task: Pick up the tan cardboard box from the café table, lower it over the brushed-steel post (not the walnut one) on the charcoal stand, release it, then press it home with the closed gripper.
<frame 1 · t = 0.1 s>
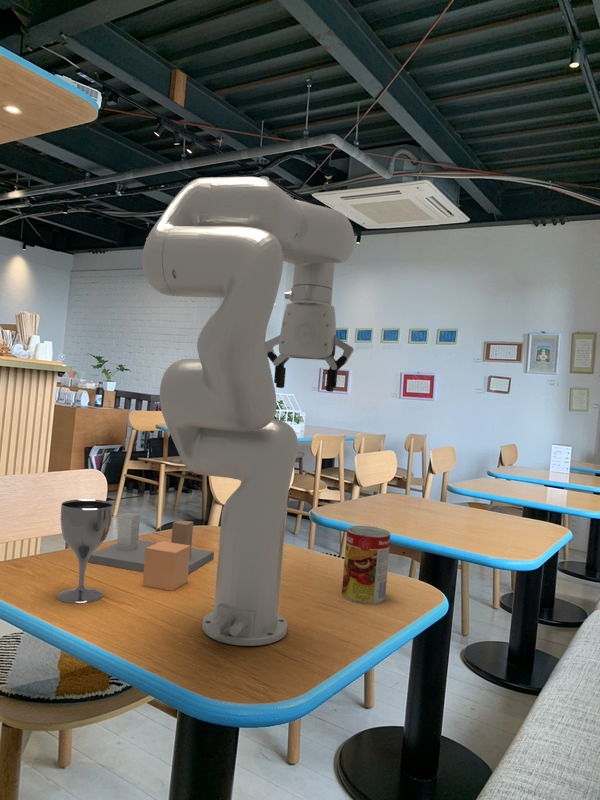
hand: (304, 389, 110), 37 cm above the table, tool pointing down, fingers open, 9 cm apart
steel post: (126, 556, 120), resting on post stand
wine glass: (80, 596, 96), on the table
canned food: (363, 597, 107), on the table
post stand: (152, 560, 118), on the table
tan cardboard box: (165, 583, 105), on the table
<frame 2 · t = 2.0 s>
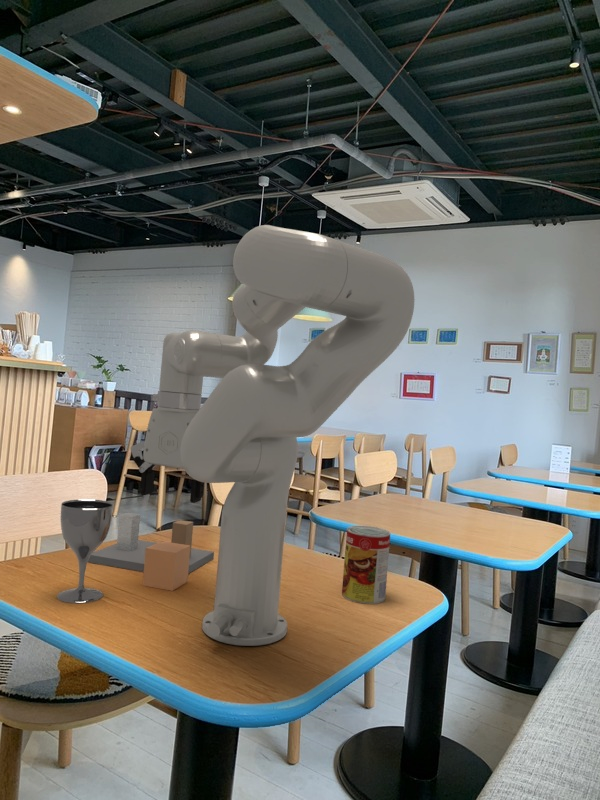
hand: (171, 497, 105), 15 cm above the table, tool pointing down, fingers open, 9 cm apart
nothing on the table moved.
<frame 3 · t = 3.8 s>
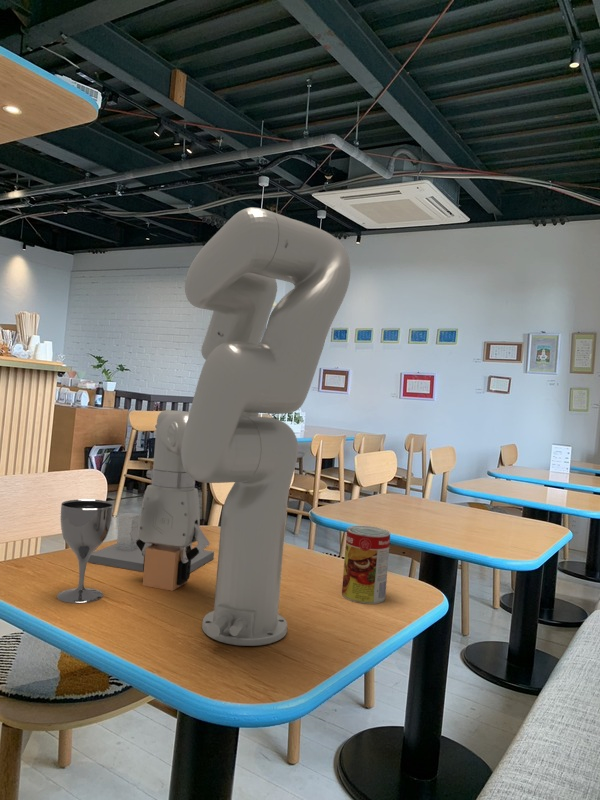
hand: (165, 579, 105), 1 cm above the table, tool pointing down, fingers closed on tan cardboard box, 5 cm apart
tan cardboard box: (165, 583, 105), on the table, touching gripper
everything else where it was.
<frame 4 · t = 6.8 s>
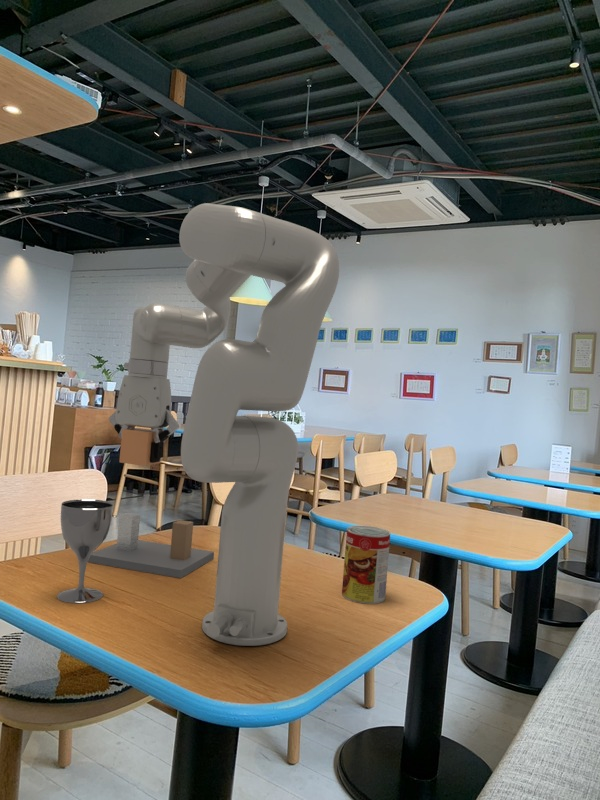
hand: (140, 459, 117), 20 cm above the table, tool pointing down, fingers closed on tan cardboard box, 5 cm apart
tan cardboard box: (140, 462, 117), point 20 cm above the table, touching gripper
everything else where it was.
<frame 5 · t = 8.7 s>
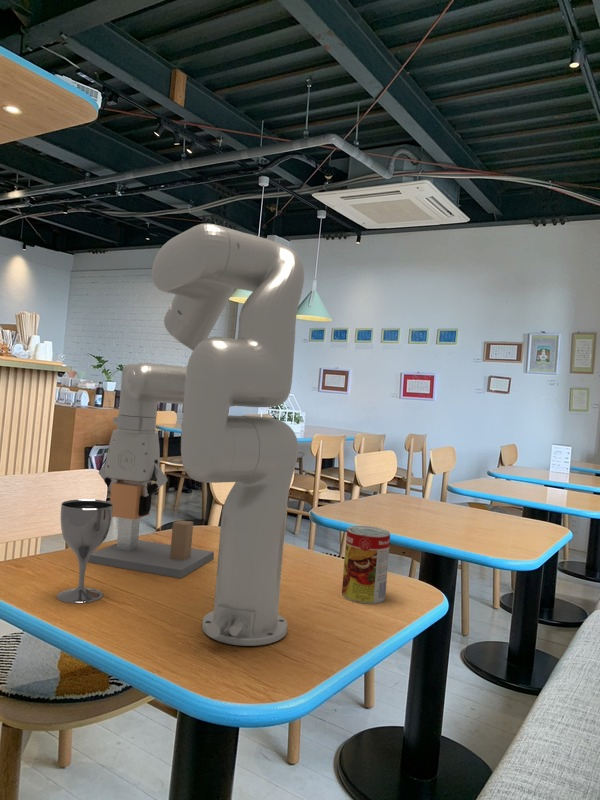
hand: (129, 511, 120), 9 cm above the table, tool pointing down, fingers closed on tan cardboard box, 5 cm apart
tan cardboard box: (129, 515, 120), point 8 cm above the table, touching gripper
everything else where it was.
when the fingers open (4 cm above the table, at t = 10.0 s): tan cardboard box drops 1 cm, resting on steel post.
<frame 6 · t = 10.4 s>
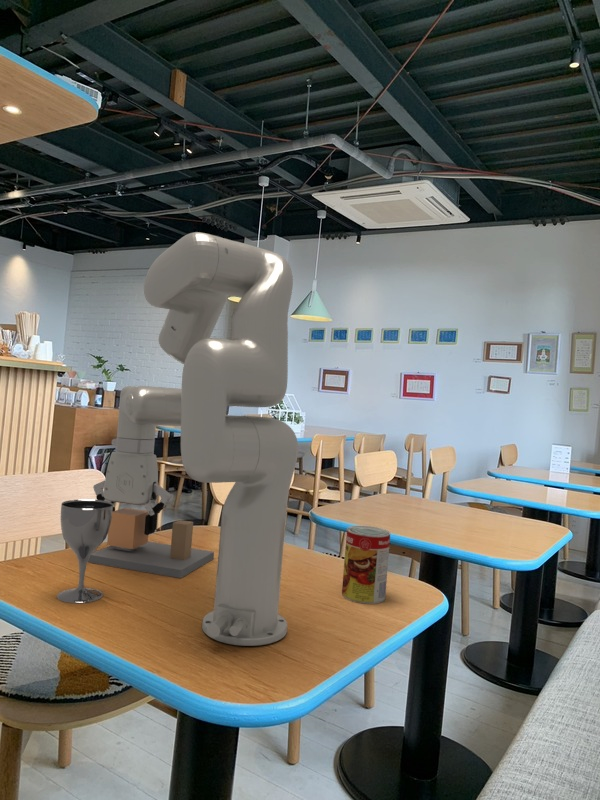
hand: (128, 530, 120), 5 cm above the table, tool pointing down, fingers open, 9 cm apart
tan cardboard box: (127, 543, 120), point 2 cm above the table, touching steel post
everything else where it was.
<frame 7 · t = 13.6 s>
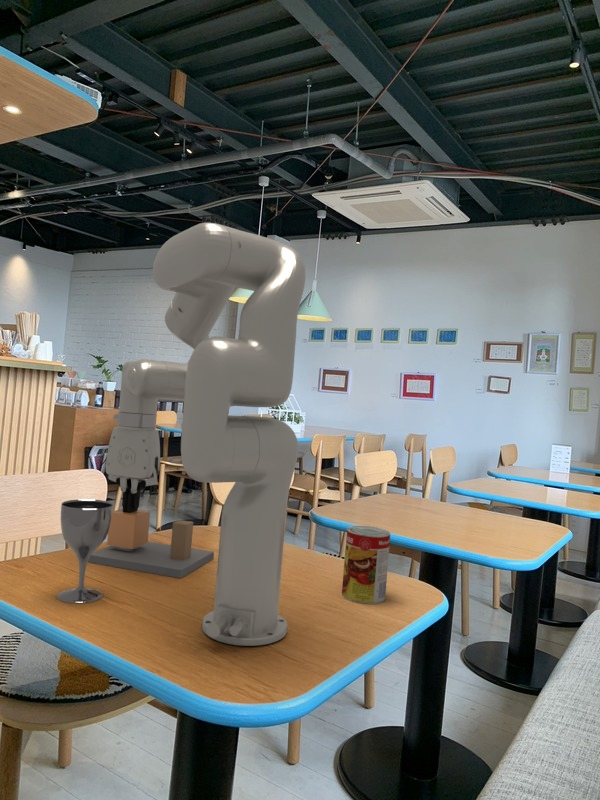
hand: (130, 511, 120), 9 cm above the table, tool pointing down, fingers closed
nothing on the table moved.
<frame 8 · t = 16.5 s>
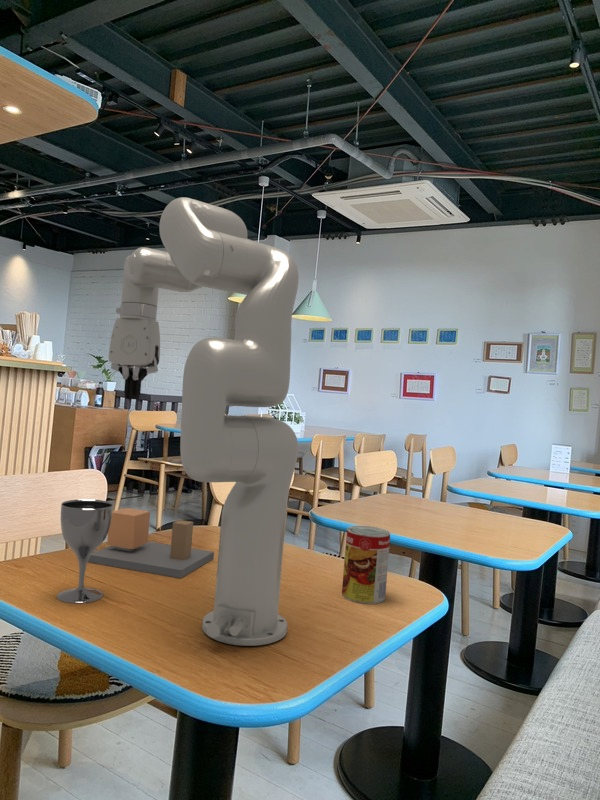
hand: (131, 398, 126), 32 cm above the table, tool pointing down, fingers closed
nothing on the table moved.
at the end: tan cardboard box 0.0 cm from the steel post (horizontally); tan cardboard box 0.0 cm off-centre on the steel post, point 2.5 cm above the steel post's base; tan cardboard box tilted 0° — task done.
